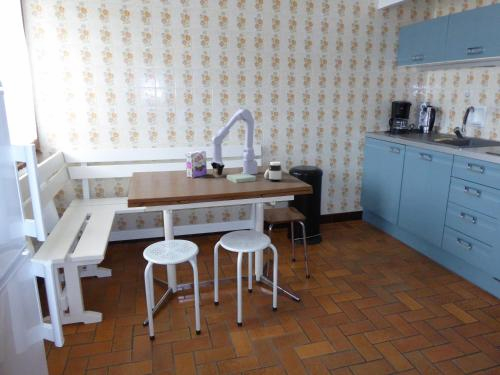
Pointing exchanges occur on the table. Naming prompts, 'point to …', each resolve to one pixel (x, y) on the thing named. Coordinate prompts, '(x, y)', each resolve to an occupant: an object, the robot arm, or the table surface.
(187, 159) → the candy box
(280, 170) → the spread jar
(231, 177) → the sage box
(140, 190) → the table surface
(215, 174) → the beech block
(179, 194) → the table surface
